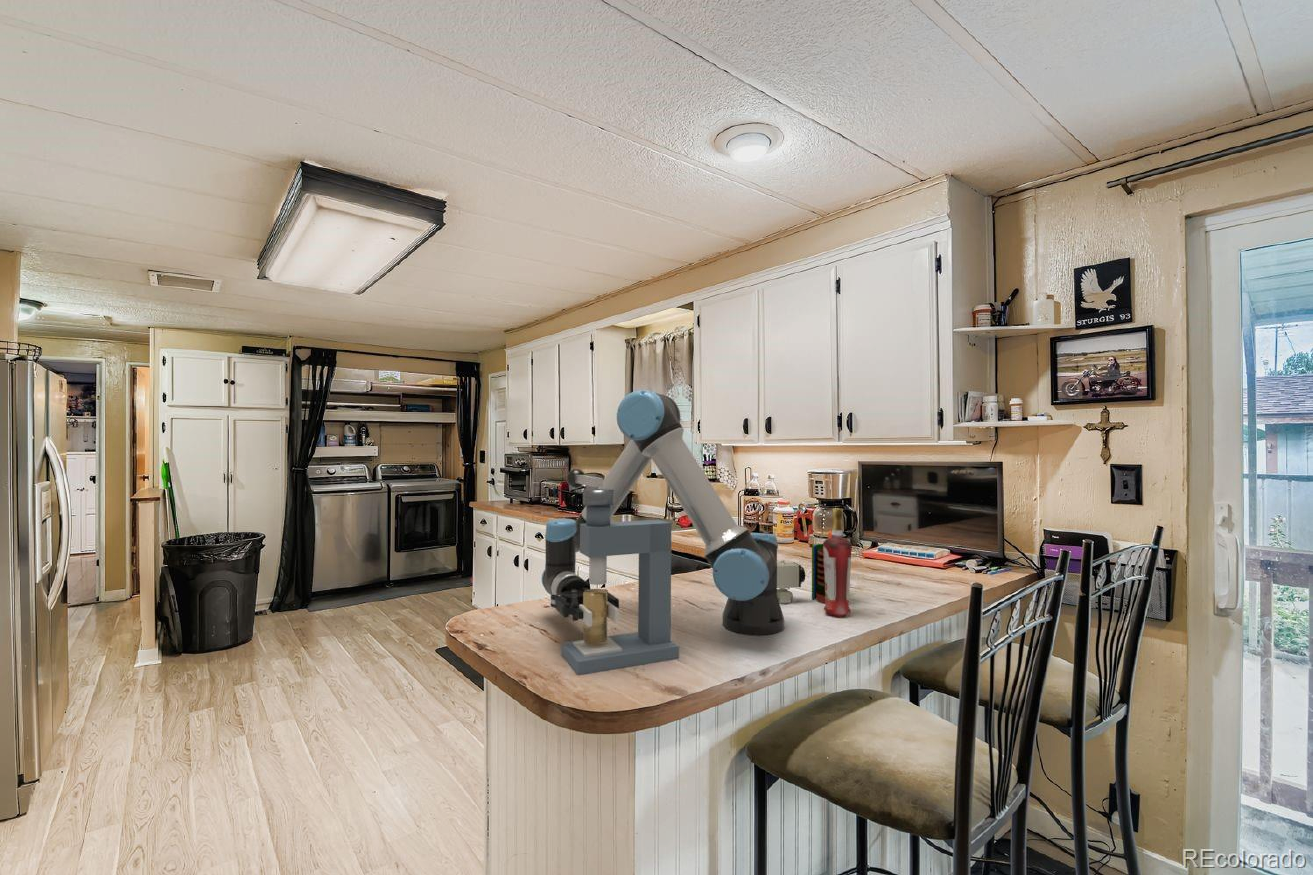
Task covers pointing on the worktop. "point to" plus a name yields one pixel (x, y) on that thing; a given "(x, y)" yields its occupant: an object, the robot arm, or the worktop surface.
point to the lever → (591, 495)
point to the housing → (596, 616)
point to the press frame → (652, 597)
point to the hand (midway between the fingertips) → (603, 617)
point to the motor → (818, 572)
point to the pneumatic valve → (788, 579)
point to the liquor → (837, 569)
